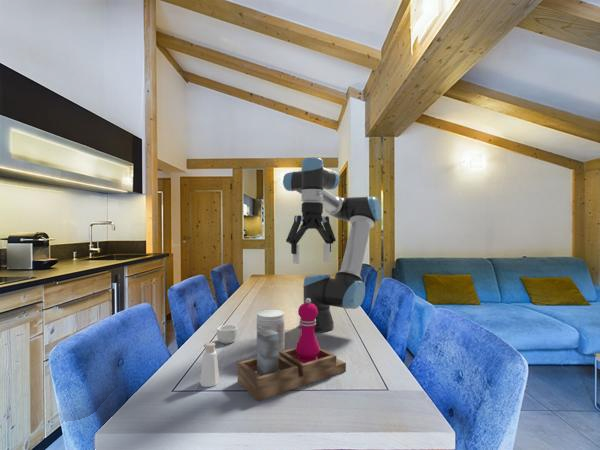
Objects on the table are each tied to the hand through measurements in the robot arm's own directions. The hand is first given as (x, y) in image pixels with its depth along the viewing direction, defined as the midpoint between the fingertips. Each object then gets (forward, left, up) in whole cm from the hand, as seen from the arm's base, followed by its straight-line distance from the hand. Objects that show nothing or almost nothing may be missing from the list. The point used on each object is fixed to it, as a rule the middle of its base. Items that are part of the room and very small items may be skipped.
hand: (311, 262), depth 115 cm
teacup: (+19, -28, -32) cm, 47 cm away
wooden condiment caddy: (+15, +11, -32) cm, 37 cm away
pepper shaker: (+37, +1, -32) cm, 49 cm away
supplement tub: (+13, -6, -32) cm, 35 cm away
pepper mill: (+10, +11, -29) cm, 33 cm away
